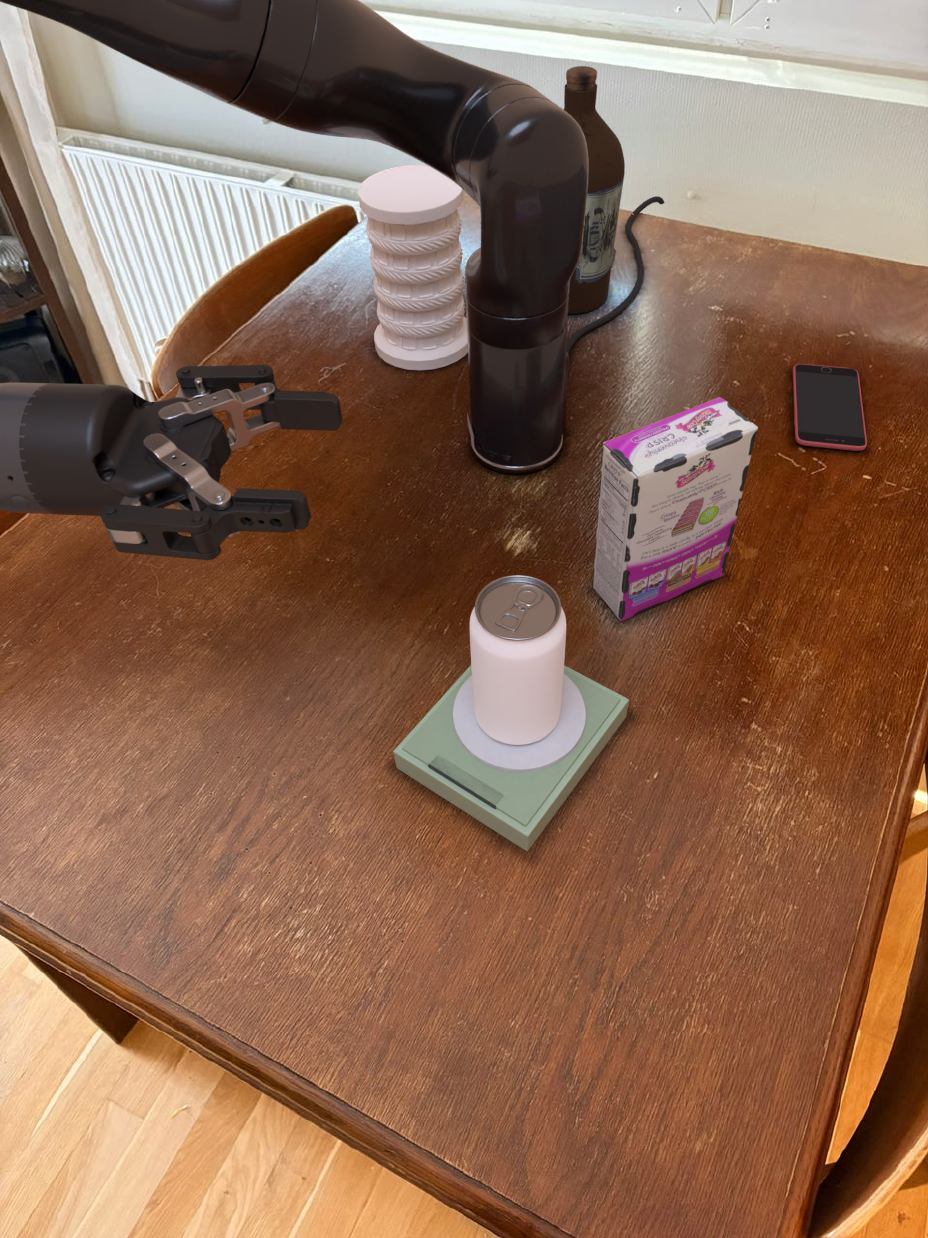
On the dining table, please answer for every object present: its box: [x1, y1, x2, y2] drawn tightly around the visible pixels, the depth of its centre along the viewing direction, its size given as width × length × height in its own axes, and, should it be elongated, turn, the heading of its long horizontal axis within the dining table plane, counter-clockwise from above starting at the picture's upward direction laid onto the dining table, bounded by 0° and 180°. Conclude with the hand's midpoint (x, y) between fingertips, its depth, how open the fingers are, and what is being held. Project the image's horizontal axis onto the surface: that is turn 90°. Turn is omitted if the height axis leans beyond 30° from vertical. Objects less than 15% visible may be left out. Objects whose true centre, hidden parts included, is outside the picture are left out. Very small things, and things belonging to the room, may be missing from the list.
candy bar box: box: [592, 396, 759, 622], centre depth 73 cm, size 11×5×16 cm, turn 117°
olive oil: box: [563, 65, 626, 315], centre depth 102 cm, size 11×11×25 cm
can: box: [469, 574, 567, 745], centre depth 63 cm, size 6×6×12 cm
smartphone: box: [792, 363, 868, 452], centre depth 94 cm, size 7×1×14 cm
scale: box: [392, 664, 630, 852], centre depth 68 cm, size 14×12×3 cm
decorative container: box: [357, 164, 468, 371], centre depth 99 cm, size 12×12×18 cm
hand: (324, 458), depth 50 cm, fingers open, 8 cm apart
